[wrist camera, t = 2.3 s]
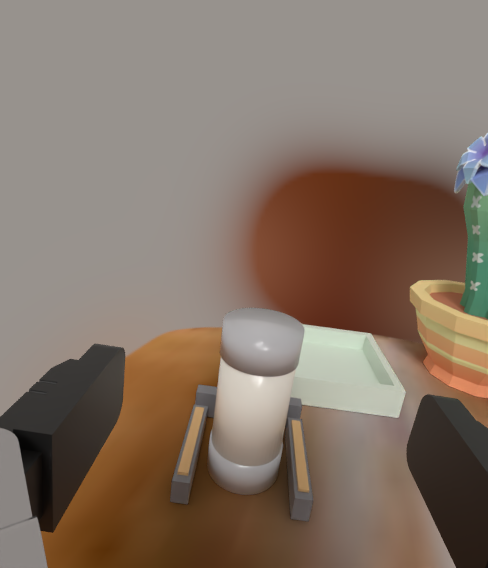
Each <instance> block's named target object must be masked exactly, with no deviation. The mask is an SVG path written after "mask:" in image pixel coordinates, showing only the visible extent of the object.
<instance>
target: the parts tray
mask: <svg viewBox="0 0 488 568" xmlns="http://www.w3.org/2000/svg"><path fill="white" fill-rule="evenodd" d="M302 325H303V327H304V329H305V332H304V337H303V343H302V348H301V353H300V359H299V364H298V366H297V368H296V370H295V376H294V381H293V387H292V392H291V397H293V398H300V399H301V403H302V405H308V406H315V407H322V408H329V409H337V410H344V411H351V412H358V413H366V414H373V415H380V416H388V417H395V418H399V414H400V411H401V407H402V404H403V401H404V397H405V394H406V391H405V389H404V388H403V386H402V384H401V383H400V381H399V379H398V378H397V376H396V374H395V373H394V371H393V369H392V368H391V366H390V364H389V363H388V361H387V359H386V358H385V356H384V354H383V353H382V351H381V349H380V348H379V346H378V344H377V343H376V341H375V339H374V338H373V336H372V334H371V333H363V332H355V331H348V330H341V329H334V328H326V327H319V326H310V325H304V324H302Z"/></svg>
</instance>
